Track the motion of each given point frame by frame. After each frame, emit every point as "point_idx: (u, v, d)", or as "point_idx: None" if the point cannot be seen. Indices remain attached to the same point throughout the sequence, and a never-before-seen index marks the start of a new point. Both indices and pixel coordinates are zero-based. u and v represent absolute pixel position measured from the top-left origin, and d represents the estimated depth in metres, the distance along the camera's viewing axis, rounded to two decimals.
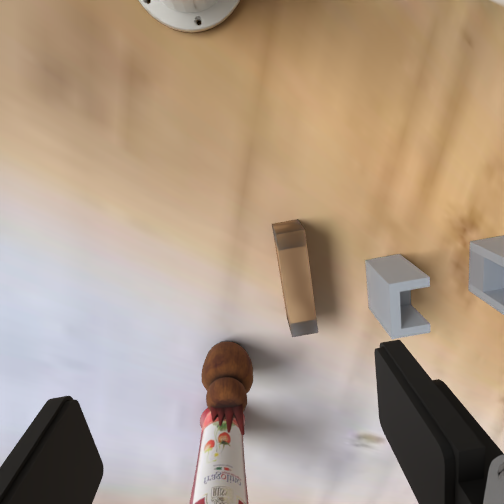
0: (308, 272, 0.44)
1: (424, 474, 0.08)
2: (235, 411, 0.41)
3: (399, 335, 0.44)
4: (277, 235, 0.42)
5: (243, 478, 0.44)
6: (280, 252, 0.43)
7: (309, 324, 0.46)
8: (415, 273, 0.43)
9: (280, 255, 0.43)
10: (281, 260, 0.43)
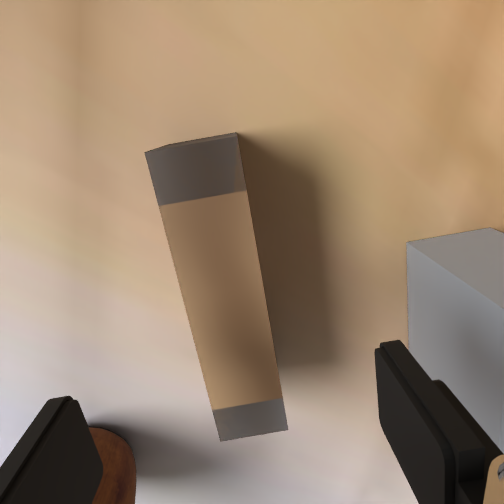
0: (255, 273, 0.15)
1: (424, 474, 0.08)
2: None
3: None
4: (149, 155, 0.13)
5: None
6: (165, 211, 0.14)
7: (264, 411, 0.17)
8: None
9: (166, 221, 0.14)
10: (170, 237, 0.14)
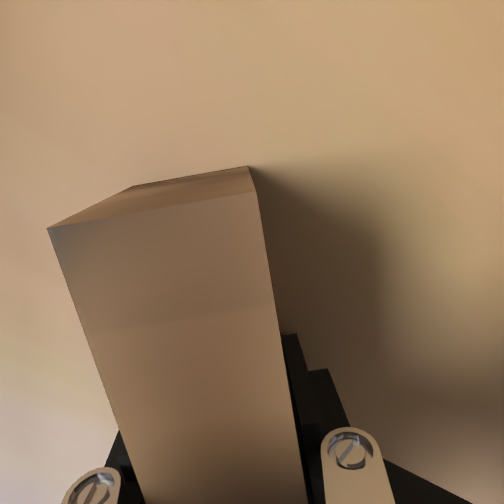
0: (288, 454, 0.07)
1: None
2: None
3: None
4: (59, 233, 0.06)
5: None
6: (100, 346, 0.06)
7: None
8: None
9: (103, 365, 0.07)
10: (115, 393, 0.07)
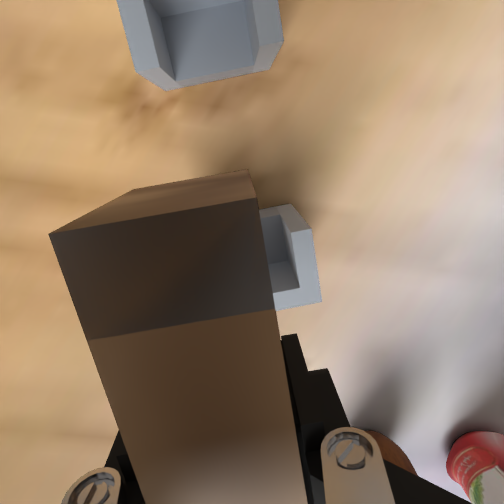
0: (288, 458, 0.07)
1: None
2: None
3: (315, 289, 0.22)
4: (61, 239, 0.06)
5: None
6: (102, 351, 0.07)
7: None
8: None
9: (104, 369, 0.07)
10: (116, 397, 0.07)
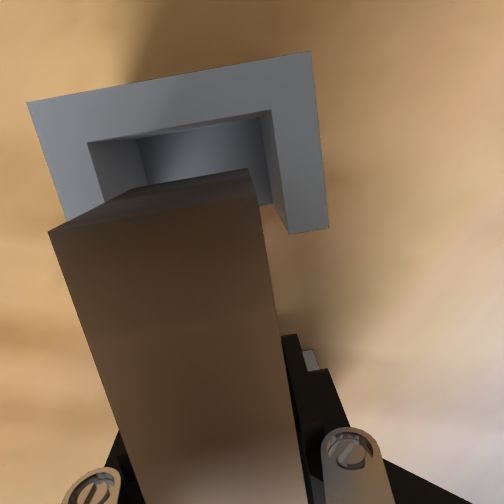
0: (288, 456, 0.07)
1: None
2: None
3: None
4: (60, 237, 0.06)
5: None
6: (101, 349, 0.06)
7: None
8: None
9: (104, 368, 0.07)
10: (115, 396, 0.07)
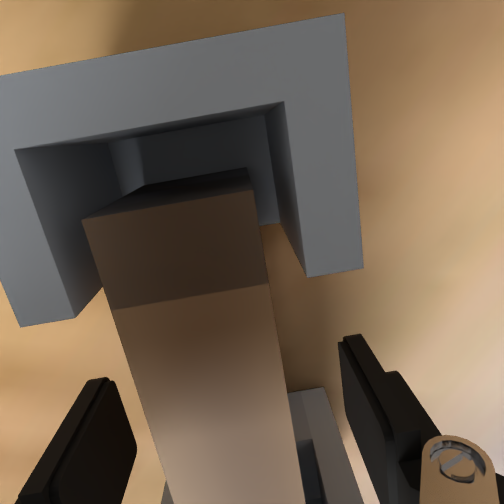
0: (280, 414, 0.09)
1: (374, 457, 0.09)
2: None
3: None
4: (91, 224, 0.07)
5: None
6: (123, 319, 0.08)
7: None
8: None
9: (125, 335, 0.08)
10: (134, 360, 0.08)
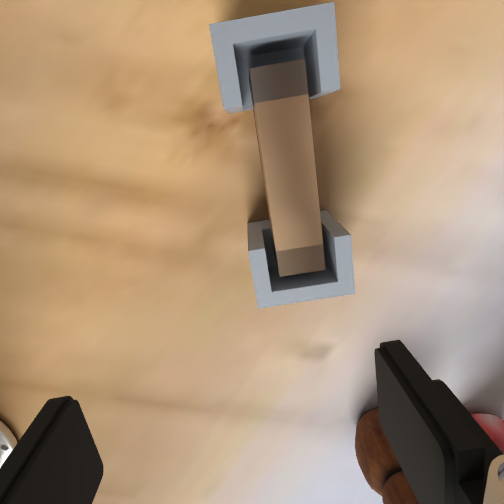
0: (310, 151, 0.24)
1: (424, 474, 0.08)
2: None
3: (350, 283, 0.27)
4: (252, 70, 0.22)
5: None
6: (258, 107, 0.23)
7: (310, 254, 0.26)
8: None
9: (258, 113, 0.23)
10: (260, 124, 0.23)
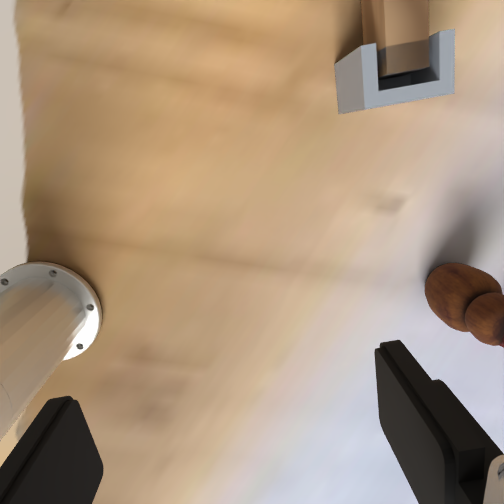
0: None
1: (424, 474, 0.08)
2: None
3: (450, 82, 0.29)
4: None
5: None
6: None
7: (417, 49, 0.28)
8: (355, 62, 0.30)
9: None
10: None
